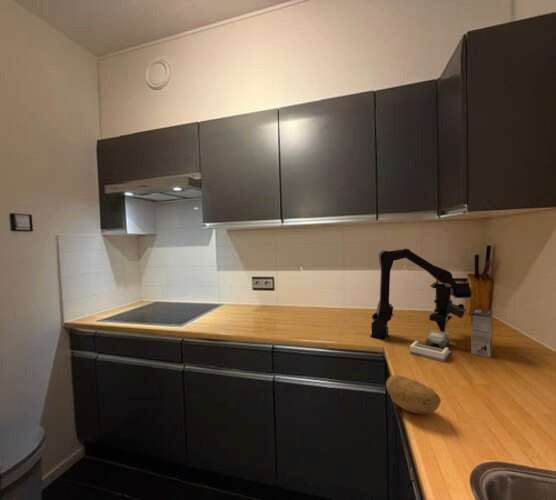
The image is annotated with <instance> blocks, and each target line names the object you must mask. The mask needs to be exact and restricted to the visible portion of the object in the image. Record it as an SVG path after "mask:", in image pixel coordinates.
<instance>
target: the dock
mask: <svg viewBox="0 0 556 500" xmlns="http://www.w3.org/2000/svg"><path fill="white" fill-rule="evenodd" d="M451 353H452V351H451V350H449V347H445V348H444V349H442V348H440V347H434V346H432V345H431V346H429V345H427V344H426V345H424V344H420V343H419V341H418V340H415V341H414V342H412V344H411V345H409V354H411V355H415V356H419V357H422V358H427V359H431V360H436V361H438V362H439V361H440V362H443V363H444V362H445V361H446V360H447V358H448V357H449V356H450V355H451Z"/></svg>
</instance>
